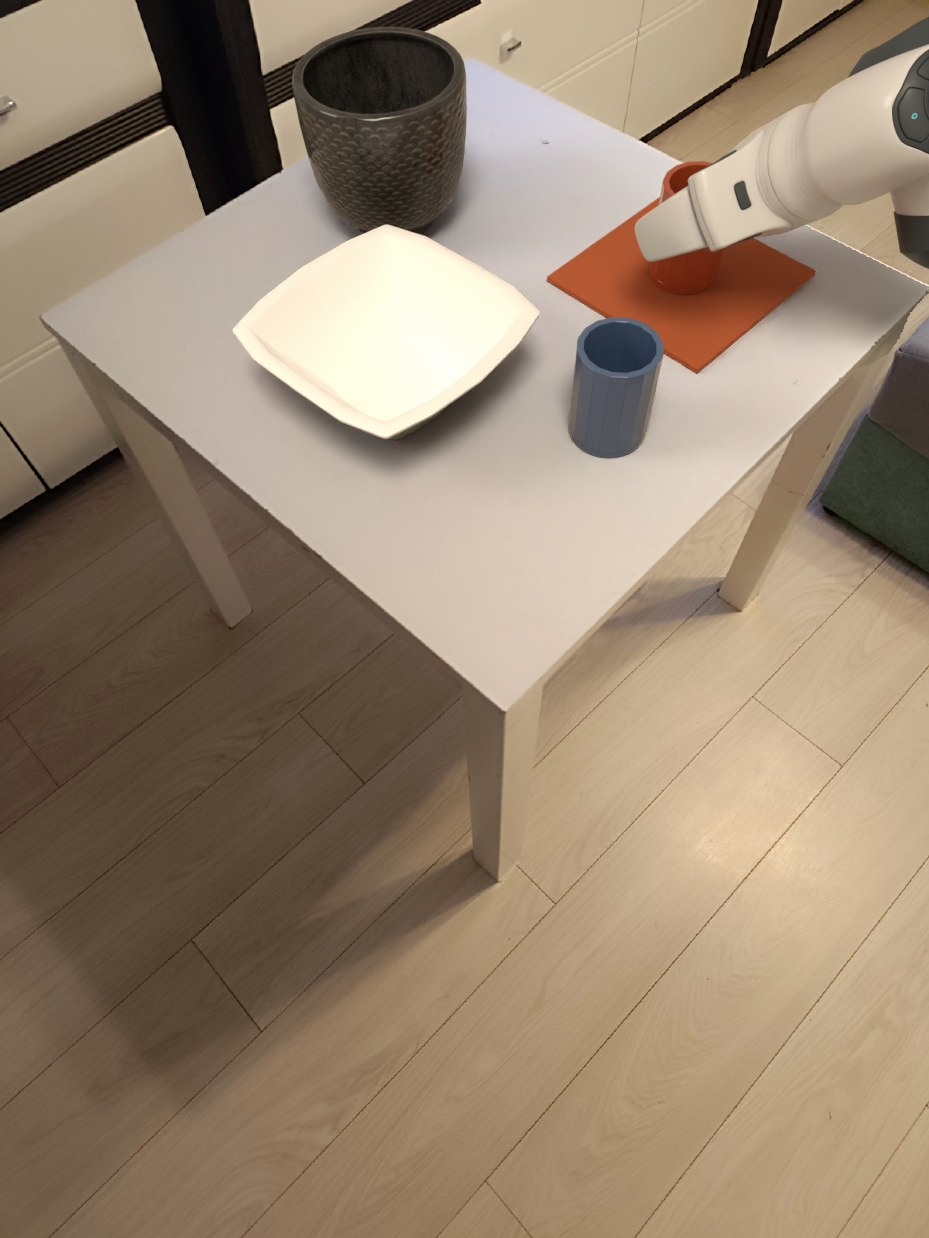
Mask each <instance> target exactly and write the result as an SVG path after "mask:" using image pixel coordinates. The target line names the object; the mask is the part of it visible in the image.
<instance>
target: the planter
mask: <svg viewBox="0 0 929 1238" xmlns="http://www.w3.org/2000/svg"><path fill="white" fill-rule="evenodd" d="M466 72H467V71H466V65H465V62H464V60H463V58H462V55H461V54H460V52H459V51H458V50H457V49H456V47H454V45H452V44H451V43H450V42H448V41H447V40H445V39H443V38H442V37H440V36H438V35H435V34H433V33H430V32H427V31H423V30H420V29H417V28H409V27H403V26H401V27H400V26H375V27H365V28H360V29H359V28H358V29H354V30H349V31H347V32H343V33H340V34H337V35H334V36H331V37H330V38H327V39H325V40H323V41H321V42H320V43H318V44H316V45H314V46H313V47H311V48H310V49H309V50H307V52H305V54H304V55H302V57H301V58H300V59H299V60H298V61H297V63H296V65H295V66H294V69H293V72H292V76H291V87H292V94H293V99H294V104H295V108H296V114H297V119H298V124H299V127H300V132H301V136H302V139H303V142H304V147H305V150H306V154H307V157H308V160H309V163H310V166H311V170H312V173H313V176H314V178H315V181H316V184H317V186H318V188H319V190H320V191H321V193H322V195H323V197H324V198H325V200H326V202H327V203H328V205H329V206H330V208H331V209H332V210H333V211H334V212H335V213H336V214H337V215H338V216H339V217H341V218H342V219H343V220H344V221H346V222H347V223H348V224H350V225H352V226H353V227H355V228H357V229H358V230H359V231H360V232H361V233H362V234H364V233H366V232H369V231H371V230H373V229H376V228H378V227H380V226H383V225H391V226H394V227H397V228H401V229H404V230H407V231H410V232H413V233H417V234H420V235H423V233H424V232H426V231H427V230H428V229H429V228H430V227H431V225H432V224H433V222H434V221H435V220H436V219H437V218H439V216H440V215H441V214H442V213H443V212H444V211H445V210H446V209H447V208H448V206H449V204H450V203H451V202H452V200H453V199H454V197H455V194H456V192H457V189H458V186H459V184H460V181H461V177H462V174H463V173H462V172H463V168H464V161H465V151H466V139H467V117H468V114H467V113H468V102H467V101H468V100H467V99H468V98H467V97H468V96H467V73H466Z"/></svg>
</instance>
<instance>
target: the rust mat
mask: <svg viewBox="0 0 929 1238" xmlns="http://www.w3.org/2000/svg"><path fill="white" fill-rule="evenodd" d="M659 200H660V196H659V197H657V198H656V199H655V200H653V201H652V202H650V203H649V204H648V205H646V206H645V207H643V208H642V209H640V210H639V211H637V212H636V213H635V214H633V215H632V216H631V217H629V218H628V219H627V220H625V221H624V222H622V223H621V224H619V225H618V226H617V227H615V228H614V229H611V231H609V232H608V233H606V234H605V235H603V236H602V237H601V238H599V239H598V240H596V241H595V242H594V243H592V244H590V246H588V247H587V248H585V249H584V250H583V251H581V252H580V253H578V254H577V255H576V256H574V257H573V258H571V259H570V260H568V261H567V262H566V263H564V264H563V265H561V266H560V267H558V268H557V269H556V270H554V271H553V272H552V273H550V274H548V275H547V276H546V281H547V282H548V283H549V284H551V285H552V286H554V287H556V288H557V289H559V290H561V291H562V292H564V293H565V294H567V295H568V296H570V297H572V298H573V299H575V300H577V301H578V302H580V303H581V304H582V305H583V304H584V305H585V306H587V307H588V308H590V309H592V310H593V311H594V312H596V313H598V314H599V315H601V316H603V317H604V318H605V319H607V318H611V317H621V318H631V319H634V320H637V321H640V322H643V323H645V324H647V325H648V326H649V327H651V328H652V329H653V330H655V331H656V332H657V333H658V335H659V337H660V338H661V340H662V342H663V355H666V356H667V357H669V358H670V359H672V360H673V361H675V362H676V363H679V364H680V365H682V366H684V367H685V368H687V369H689V370H690V371H692V372H693V373H695V374H699V373H700V372H701V371H703V369H705V368H706V367H707V366H708V365H709V364H710V363H712V362H713V361H714V360H715V359H717V358H718V357H719V356H720V355H721V354H722V353H724V352H725V351H726V350H727V349H728V348H730V347H731V346H732V345H733V344H734V343H736V342H737V341H738V340H739V339H741V337H743V336H744V335H745V334H747V333H748V332H749V331H750V330H751V329H752V328H754V327H755V326H756V325H757V324H758V323H760V322H761V321H762V320H764V318H766V317H767V316H768V315H770V314H771V312H773V311H774V310H775V309H776V308H778V307H779V306H780V305H781V304H782V303H784V302H785V301H786V300H787V299H788V298H789V297H791V296H792V295H793V294H794V293H796V292H797V291H798V290H799V289H800V288H801V287H803V286H804V285H805V284H807V283H808V282H809V281H810V280H811V279H812V278H814V277H815V276H816V273H817V270H816V269H814V268H812V267H810V266H808V265H807V264H804V263H802V262H800V261H798V260H797V259H794V258H793V257H791V256H789V255H787V254H785V253H783V252H781V251H779V250H778V249H775V247H772V246H770V245H768V244H766V243H764V242H762V241H760V240H758V239H756V238H751V239H748V240H745V241H742V242H739V243H737V244H734V245H732V246H730V247H727V248H725V249H724V253H723V257H722V261H721V264H720V268H719V271H718V274H717V278H716V281H715V282H714V284H713V285H712V286H711V287H710V288H709V289H707V290H705V291H704V292H701V293H698V294H693V295H677V294H672V293H668V292H666V291H664V290H662V289H660V288H658V287H657V286H656V285H655V284H654V283H653V282H652V281H651V280H650V278H649V275H648V265H649V261H647V260H646V259H645V258H644V256H643V255H642V252H641V250H640V247H639V245H638V242H637V239H636V235H635V224H636V222H637V221H638V220H639V219H640V218H642V217H643V216H644V215H646V214H647V213H648V212H650V211H651V210H653V209H654V208H655V207H657V206H658V205H659Z"/></svg>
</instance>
